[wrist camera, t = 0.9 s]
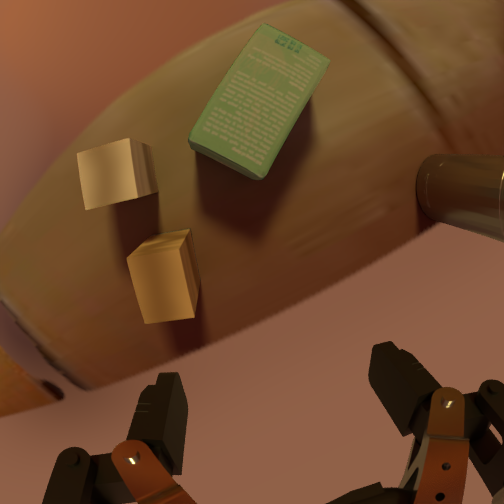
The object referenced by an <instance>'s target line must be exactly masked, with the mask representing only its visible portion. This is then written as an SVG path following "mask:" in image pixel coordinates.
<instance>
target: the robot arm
mask: <svg viewBox="0 0 504 504" xmlns="http://www.w3.org/2000/svg"><path fill="white" fill-rule="evenodd" d="M416 190H417V197H418V201H419V204H420V206H421V208H422V210H423V212H424V213H425V214H426V215H427V216H428V217H429V218H431V219H433V220H435V221H439V222H442V223H446V224H449V225H452V226H455V227H459V228H462V229H465V230H468V231H471V232H474V233H477V234H481V235H484V236H487V237H490V238H493V239H495V240H498V241H501V242H504V156H499V155H472V154H435V155H432V156H430V157H428V158H427V159H426V160H425V161H424V162H423V164H422V166H421V167H420V170H419V173H418V177H417V187H416ZM368 376H369V382H370V385H371V387H372V388H373V389H374V391H375V393H376V395H377V396H378V398H379V399H380V401H381V402H382V404H383V406H384V407H385V409H386V410H387V412H388V414H389V415H390V417H391V418H392V420H393V422H394V423H395V425H396V426H397V428H398V430H399V431H400V433H401V434H402V436H403V437H404V436H406V435H408V434H411V433H413V435H414V436H415V437H414V439H413V443H412V447H411V451H410V455H409V458H408V462H407V466H406V469H405V473H404V476H403V478H402V481H401V483H400V485H399V487H398V488H392V487H391V488H382V485H381V483H380V482H378V483H375V484H372V485H369V486H366V487H363V488H360V489H356V490H353V491H350V492H349V493H347V494H345V495H343V496H341V497H339V498H337V499H335V500H333V501H331V502H329V503H326V504H462V500H463V495H464V489H465V481H466V474H467V466H468V457H469V458H470V460H471V461H472V463H473V465H474V467H475V468H476V470H477V471H478V473H479V475H480V476H481V478H482V479H483V481H484V483H485V484H486V486H487V488H488V490H489V492H490V493H491V495H492V497H493V499H492V504H504V384H503V383H501V382H500V381H497V380H486V381H485V382H483V383H482V384H481V386H480V388H479V390H478V392H473V393H468V394H462V393H461V392H460V391H459V390H457V389H454V388H451V387H442V386H441V385H440V384H439V383H438V382H437V381H436V380H435V379H434V377H433V376H432V375H431V374H430V373H429V372H428V371H427V370H426V369H425V368H424V367H423V365H422V364H421V363H419V361H418V360H417V359H416V358H415V357H414V356H413V355H412V354H411V353H409V352H407V351H405V350H403V349H401V350H399V349H398V348H397V347H396V346H395V345H394V344H393V342H391V341H388V342H384V343H380V344H376V345H374V346H373V348H372V354H371V360H370V367H369V374H368ZM135 411H136V412H135V413H134V416H133V419H132V423H131V426H130V429H129V433H128V436H127V439H126V441H123V442H121V443H119V444H118V445H117V446H116V447H115V448H114V449H113V451H112V453H107V454H100V455H92V456H90V455H89V454H88V453H87V452H86V451H85V450H84V449H82V448H79V447H71V448H68V449H65V450H63V451H62V452H61V453H60V454H59V456H58V458H57V460H56V463H55V466H54V468H53V471H52V474H51V477H50V480H49V483H48V486H47V490H46V492H45V495H44V499H43V502H42V504H124V503H132V502H137V503H138V504H197V503H196V502H195V501H194V500H193V499H192V498H191V497H190V495H189V494H188V493H187V492H186V491H185V490H184V489H183V488H182V487H181V486H180V485H178V484H177V483H176V482H175V480H174V479H173V478H172V475H182V463H183V453H184V444H185V435H186V425H187V417H188V404H187V399H186V396H185V392H184V389H183V386H182V382H181V379H180V376H179V374H178V372H170V373H159V375H158V378H157V381H156V385H148V386H147V387H146V388H145V389H144V390H143V391H142V392H141V394H140V397H139V400H138V405H137V407H136V410H135ZM491 424H492V425H493V426H494V427H495V428H496V430H497V431H498V432H499V434H500V435H501V436H502V440H503V443H502V445H501V443H500V442H499V441H498V440H497V438H496V437H495V435H494V434H493V433H492V431H491V430H490V429H489V427H490V425H491Z"/></svg>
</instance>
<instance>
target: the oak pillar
mask: <svg viewBox="0 0 504 504" xmlns="http://www.w3.org/2000/svg"><path fill="white" fill-rule="evenodd" d="M126 259H127V263H128V267H129V270H130V274H131V278H132V282H133V285H134V289H135V292H136V296H137V299H138V303H139V306H140V309H141V312H142V316H143V319H144V322H145V324H148V323H157V322H165V321H172V320H180V319H187V318H194V317H195V312H196V305H197V299H198V293H199V287H200V281H201V280H200V275H199V270H198V265H197V260H196V255H195V250H194V245H193V240H192V234H191V229H190V228H189V229H183V230H178V231H172V232H167V233H161V234H156V235H151V236H150V237H149V238H147V239H146V240H145V241H144V242H143V243H142V244H141V245H140V246H139V247H138V248H137V249H136V250H135V251H134V252H132V253H131V254H130V255H129V256H128V257H127V258H126Z"/></svg>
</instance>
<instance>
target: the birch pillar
mask: <svg viewBox="0 0 504 504" xmlns="http://www.w3.org/2000/svg"><path fill="white" fill-rule="evenodd" d="M77 158H78V166H79V174H80V180H81V187H82V193H83V199H84V204H85V209H86V210H89V209H93V208H97V207H101V206H105V205H109V204H113V203H117V202H122V201H126V200H130V199H135V198H139V197H142V196H146V195H149V194H153V193H156V192H158V186H157V180H156V174H155V167H154V161H153V153H152V147H151V146H149V145H146V144H144V143H141V142H139V141H136V140H133V139H131V138H127V139H123V140H119V141H116V142H112V143H109V144H105V145H102V146H99V147H95V148H92V149H89V150H86V151H83V152H80V153H77Z"/></svg>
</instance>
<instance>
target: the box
mask: <svg viewBox="0 0 504 504" xmlns="http://www.w3.org/2000/svg"><path fill="white" fill-rule="evenodd" d="M330 61H331V60H329V59H328V58H326V57H325V56H323V55H322V54H320V53H318V52H317V51H315V50H313V49H312V48H310V47H308V46H307V45H305V44H303V43H302V42H300V41H298V40H296V39H295V38H293V37H291V36H289V35H287V34H285V33H284V32H282V31H280V30H278V29H276V28H274V27H272V26H270V25H268V24H265V23H263V24H262V25H261V26H260V27H259V28H258V29H257V31H256V32H255V33H254V34H253V36H252V37H251V38H250V40H249V41H248V43H247V44H246V45H245V47H244V48H243V50H242V51H241V53H240V54H239V55H238V57H237V58H236V60H235V61H234V63H233V64H232V66H231V67H230V69H229V70H228V72H227V73H226V75H225V77H224V78H223V80H222V81H221V83H220V84H219V86H218V88H217V89H216V91H215V92H214V94H213V96H212V97H211V99H210V101H209V102H208V104H207V106H206V107H205V109H204V111H203V112H202V114H201V116H200V117H199V119H198V121H197V122H196V124H195V126H194V127H193V129H192V130H191V132H190V133H189V138H188V143H189V144H190V147H191V149H193V150H195V151H197V152H199V153H201V154H203V155H205V156H208V157H210V158H212V159H214V160H216V161H218V162H220V163H222V164H224V165H226V166H227V167H229V168H231V169H233V170H235V171H237V172H239V173H241V174H243V175H245V176H247V177H249V178H251V179H252V180H263V179H264V177H265V176H266V175H267V173H268V171H269V169H270V167H271V165H272V164H273V162H274V160H275V158H276V156H277V155H278V153H279V151H280V149H281V147H282V146H283V144H284V142H285V140H286V139H287V137H288V135H289V133H290V132H291V130H292V128H293V126H294V124H295V123H296V121H297V119H298V117H299V116H300V114H301V112H302V110H303V109H304V107H305V105H306V103H307V102H308V100H309V98H310V97H311V95H312V93H313V92H314V90H315V88H316V87H317V85H318V83H319V82H320V80H321V78H322V77H323V75H324V73H325V71H326V70H327V68H328V66H329V63H330Z"/></svg>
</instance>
